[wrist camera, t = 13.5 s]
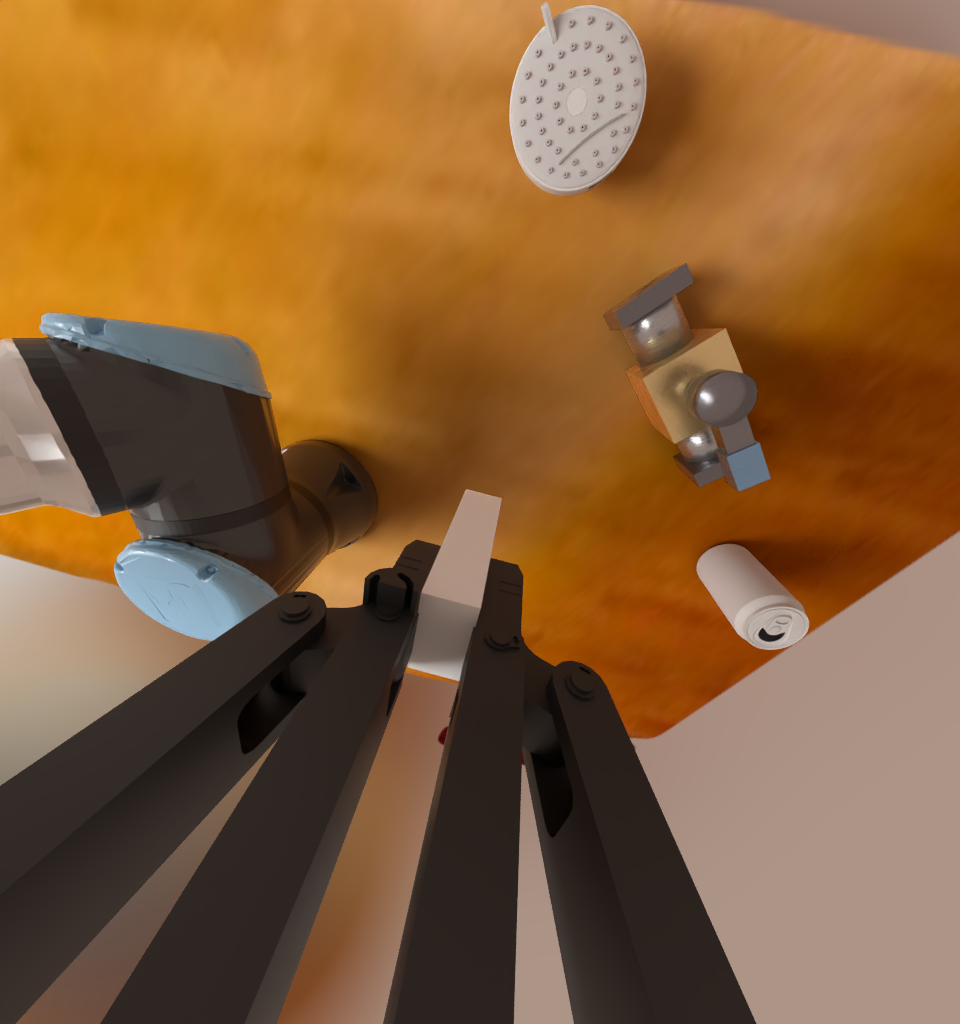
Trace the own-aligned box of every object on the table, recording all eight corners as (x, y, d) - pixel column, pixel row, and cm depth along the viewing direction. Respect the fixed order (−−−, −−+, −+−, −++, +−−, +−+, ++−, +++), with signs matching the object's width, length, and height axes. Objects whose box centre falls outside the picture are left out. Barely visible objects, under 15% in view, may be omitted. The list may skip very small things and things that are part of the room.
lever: (679, 386, 29) (690, 390, 27) (732, 358, 28) (749, 360, 26) (716, 485, 32) (729, 496, 30) (765, 465, 31) (783, 475, 29)
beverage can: (685, 576, 48) (729, 645, 38) (707, 535, 45) (760, 598, 35) (734, 586, 48) (791, 659, 37) (759, 546, 45) (828, 612, 34)
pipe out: (733, 440, 40) (764, 457, 35) (678, 467, 42) (699, 487, 37) (713, 393, 38) (742, 403, 33) (657, 424, 40) (675, 438, 35)
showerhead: (615, -70, 21) (671, 124, 25) (596, 23, 28) (642, 167, 31) (479, 59, 25) (545, 216, 28) (491, 116, 31) (542, 238, 34)
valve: (718, 390, 38) (772, 407, 29) (652, 426, 40) (684, 452, 32) (692, 328, 36) (742, 327, 27) (624, 371, 38) (651, 382, 30)
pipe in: (687, 332, 36) (714, 332, 31) (629, 368, 38) (644, 374, 33) (662, 273, 34) (686, 263, 29) (603, 315, 36) (614, 312, 31)
